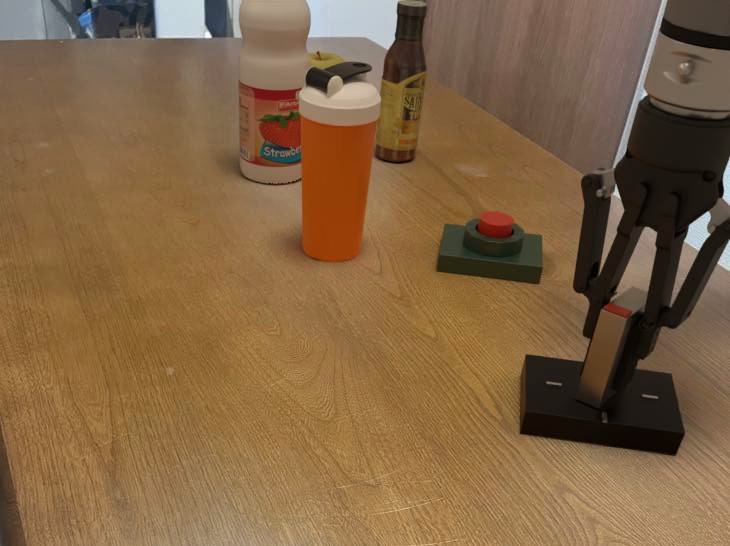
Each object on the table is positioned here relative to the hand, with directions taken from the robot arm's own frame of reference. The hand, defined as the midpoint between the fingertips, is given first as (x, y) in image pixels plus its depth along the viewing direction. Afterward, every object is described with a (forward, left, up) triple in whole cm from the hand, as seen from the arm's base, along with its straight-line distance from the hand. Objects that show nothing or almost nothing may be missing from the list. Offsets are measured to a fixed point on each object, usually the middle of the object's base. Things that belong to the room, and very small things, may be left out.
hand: (605, 377), depth 80 cm
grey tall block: (0, 0, -1) cm, 1 cm away
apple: (+41, -82, -4) cm, 92 cm away
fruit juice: (+42, -50, -4) cm, 65 cm away
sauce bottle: (+26, -62, -4) cm, 67 cm away
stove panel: (0, 0, -4) cm, 4 cm away
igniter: (+11, -30, -4) cm, 32 cm away
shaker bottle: (+30, -28, -4) cm, 41 cm away
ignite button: (+11, -30, 0) cm, 32 cm away
